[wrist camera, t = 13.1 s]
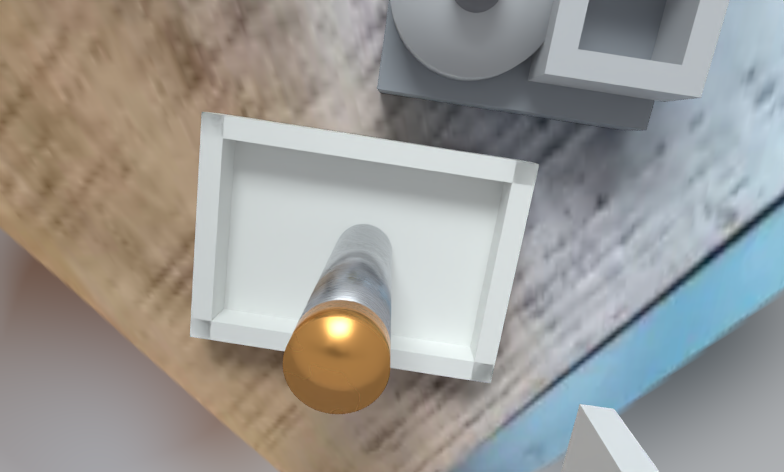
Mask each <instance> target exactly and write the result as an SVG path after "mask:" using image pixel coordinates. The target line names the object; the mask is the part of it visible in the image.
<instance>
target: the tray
mask: <svg viewBox="0 0 784 472" xmlns="http://www.w3.org/2000/svg"><path fill="white" fill-rule="evenodd" d="M538 168H539V164H538V163H534V162H530V161H525V160H519V159H512V158H506V157H500V156H493V155H487V154H480V153H474V152H467V151H461V150H454V149H448V148H441V147H435V146H428V145H422V144H415V143H409V142H402V141H396V140H390V139H383V138H377V137H370V136H364V135H357V134H351V133H344V132H338V131H331V130H325V129H318V128H312V127H305V126H299V125H293V124H286V123H280V122H273V121H267V120H260V119H254V118H247V117H241V116H234V115H228V114H221V113H210V112H202V117H201V136H200V155H199V174H198V193H197V212H196V231H195V250H194V269H193V288H192V307H191V326H190V337H196V338H202V339H209V340H215V341H221V342H228V343H234V344H241V345H247V346H254V347H260V348H266V349H273V350H279V351H285V349H286V346H287V344H288V342H289V340H290V338H291V336H292V334H293V332H294V330H295V327H296V325H297V323H298V321H299V319H300V317H301V315H302V313H303V311H304V309H305V307H306V305H307V303H308V301H309V298H310V296H311V294H312V292H313V290H314V288H315V286H316V284H317V282H318V280H319V278H320V276H321V274H322V272H323V269H324V267H325V265H326V263H327V261H328V259H329V257H330V255H331V253H332V251H333V249H334V247H335V245H336V243H337V240H338V239H339V237H340V235H341V234H342V233H343V232H344V231H345V230H346V229H348V228H349V227H351V226H354V225H358V224H369V225H373V226H375V227H377V228H379V229H380V230H382V231H383V232H384V233H385V234H386V235H387V237H388V238H389V240H390V243H391V246H392V290H391V355H390V368H395V369H401V370H408V371H414V372H421V373H427V374H433V375H440V376H446V377H453V378H459V379H466V380H472V381H478V382H485V383H491V379H492V374H493V370H494V365H495V361H496V356H497V352H498V347H499V343H500V338H501V334H502V329H503V325H504V320H505V316H506V311H507V307H508V302H509V298H510V293H511V289H512V284H513V280H514V275H515V271H516V266H517V262H518V257H519V253H520V248H521V244H522V239H523V235H524V231H525V226H526V222H527V217H528V213H529V208H530V204H531V199H532V195H533V190H534V186H535V181H536V177H537V172H538Z"/></svg>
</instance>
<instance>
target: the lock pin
mask: <svg viewBox="0 0 784 472" xmlns="http://www.w3.org/2000/svg"><path fill="white" fill-rule="evenodd" d="M391 290H392V246H391V243H390V240H389V238H388V237H387V235H386V234H385V233H384V232H383V231H382V230H380V229H379V228H377V227H375V226H373V225H369V224H358V225H354V226H351V227H349V228H348V229H346V230H345V231H344V232H343V233H342V234H341V235H340V237H339V239H338V240H337V243H336V245H335V247H334V249H333V251H332V253H331V255H330V257H329V259H328V261H327V263H326V265H325V267H324V269H323V272H322V274H321V276H320V278H319V280H318V282H317V284H316V286H315V288H314V290H313V292H312V294H311V296H310V298H309V301H308V303H307V305H306V307H305V309H304V311H303V313H302V315H301V317H300V319H299V321H298V323H297V325H296V327H295V330H294V332H293V334H292V336H291V338H290V340H289V342H288V344H287V346H286V349H285V352H284V356H283V372H284V376H285V379H286V382H287V384H288V386H289V388H290V389H291V391H292V392H293V393H294V395H295V396H296V397H297V398H298V399H299V400H300V401H302V402H303V403H304V404H306V405H307V406H309V407H311V408H313V409H315V410H318V411H321V412H325V413H330V414H346V413H352V412H355V411H358V410H361V409H363V408H365V407H367V406H368V405H370V404H371V403H373V402H374V401H375V400H376V399H377V398H378V397H379V396H380V395H381V393H382V392H383V390H384V389H385V387H386V385H387V382H388V379H389V375H390V355H391Z"/></svg>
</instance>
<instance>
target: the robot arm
mask: <svg viewBox="0 0 784 472" xmlns="http://www.w3.org/2000/svg"><path fill="white" fill-rule="evenodd" d="M561 472H659V471H658V469H657V468H656V466H655V465H654V464H653V462H652V461H651V459H650V458H649V457H648V455H647V454H646V452H645V451H644V450H643V448H642V447H641V446H640V444H639V443H638V441H637V440H636V439H635V437H634V436H633V435H632V433H631V432H630V431H629V429H628V428H627V426H626V425H625V423H624V422H623V421H622V419H621V418H620V417H619V415H618V414H617V412H616V411H615V410H614V409H610V408H603V407H596V406H589V405H582V404H580V405H579V409H578V413H577V416H576V420H575V424H574V427H573V431H572V434H571V438H570V442H569V445H568V449H567V452H566V456H565V460H564V463H563V467H562V471H561Z"/></svg>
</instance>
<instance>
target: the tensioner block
mask: <svg viewBox="0 0 784 472" xmlns="http://www.w3.org/2000/svg"><path fill="white" fill-rule="evenodd" d="M728 4H729V0H389V5H388V13H387V20H386V27H385V35H384V42H383V49H382V57H381V64H380V71H379V79H378V86H377V89H378V90H379V92H380V93H386V94H393V95H399V96H406V97H412V98H419V99H425V100H432V101H438V102H445V103H451V104H458V105H464V106H471V107H477V108H483V109H490V110H496V111H503V112H509V113H516V114H522V115H529V116H535V117H542V118H548V119H555V120H561V121H568V122H574V123H581V124H587V125H594V126H600V127H607V128H613V129H620V130H647V126H648V122H649V119H650V115H651V111H652V108H653V104H654V100H656V101H663V102H666V101H675V100H684V99H694V98H701V96H702V92H703V89H704V85H705V82H706V79H707V75H708V72H709V68H710V65H711V61H712V58H713V55H714V51H715V48H716V44H717V41H718V38H719V34H720V31H721V27H722V24H723V21H724V17H725V14H726V10H727V7H728Z"/></svg>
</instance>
